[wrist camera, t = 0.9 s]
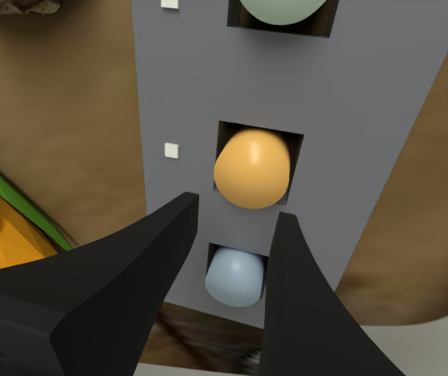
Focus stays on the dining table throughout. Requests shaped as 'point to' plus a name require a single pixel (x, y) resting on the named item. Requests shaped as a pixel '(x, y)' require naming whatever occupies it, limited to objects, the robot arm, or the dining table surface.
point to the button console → (280, 120)
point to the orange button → (254, 167)
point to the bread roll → (28, 6)
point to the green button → (281, 10)
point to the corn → (24, 229)
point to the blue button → (235, 276)
